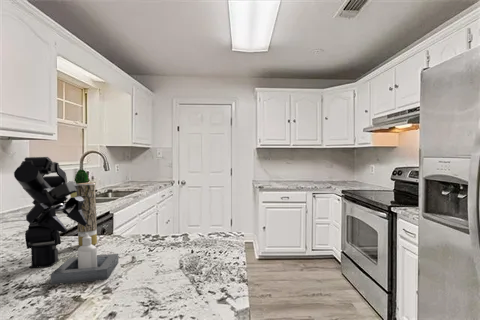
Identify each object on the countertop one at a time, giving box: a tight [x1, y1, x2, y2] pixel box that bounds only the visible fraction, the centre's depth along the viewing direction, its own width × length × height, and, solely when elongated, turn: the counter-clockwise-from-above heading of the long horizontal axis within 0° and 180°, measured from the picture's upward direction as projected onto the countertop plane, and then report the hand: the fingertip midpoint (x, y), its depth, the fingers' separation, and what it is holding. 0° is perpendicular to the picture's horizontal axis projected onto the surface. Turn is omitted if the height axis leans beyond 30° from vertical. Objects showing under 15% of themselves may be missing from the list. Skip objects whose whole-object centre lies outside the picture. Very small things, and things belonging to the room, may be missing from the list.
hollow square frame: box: [50, 253, 119, 286], centre depth 91 cm, size 14×14×3 cm
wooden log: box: [77, 182, 98, 247], centre depth 123 cm, size 7×7×25 cm
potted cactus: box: [69, 169, 90, 198], centre depth 216 cm, size 15×15×30 cm
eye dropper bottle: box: [77, 233, 98, 269], centre depth 91 cm, size 4×6×12 cm
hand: (76, 228), depth 92 cm, fingers open, 9 cm apart
